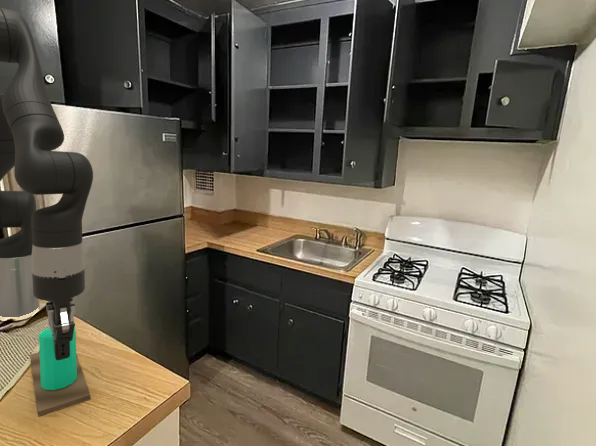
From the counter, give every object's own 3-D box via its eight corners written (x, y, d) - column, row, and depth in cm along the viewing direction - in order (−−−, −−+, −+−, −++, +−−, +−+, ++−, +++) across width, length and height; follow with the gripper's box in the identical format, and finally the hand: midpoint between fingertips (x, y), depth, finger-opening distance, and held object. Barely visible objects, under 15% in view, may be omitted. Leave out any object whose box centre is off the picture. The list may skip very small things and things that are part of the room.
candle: (59, 392, 65) (57, 333, 63) (32, 386, 66) (29, 328, 64) (84, 374, 71) (83, 319, 69) (59, 369, 72) (57, 315, 70)
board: (30, 358, 75) (29, 354, 75) (73, 348, 80) (73, 344, 80) (38, 416, 61) (37, 411, 60) (90, 399, 66) (90, 394, 66)
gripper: (29, 259, 62) (33, 346, 66) (35, 284, 52) (40, 384, 56) (77, 254, 67) (80, 335, 70) (91, 276, 57) (93, 369, 61)
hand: (62, 357), depth 63 cm, fingers closed
